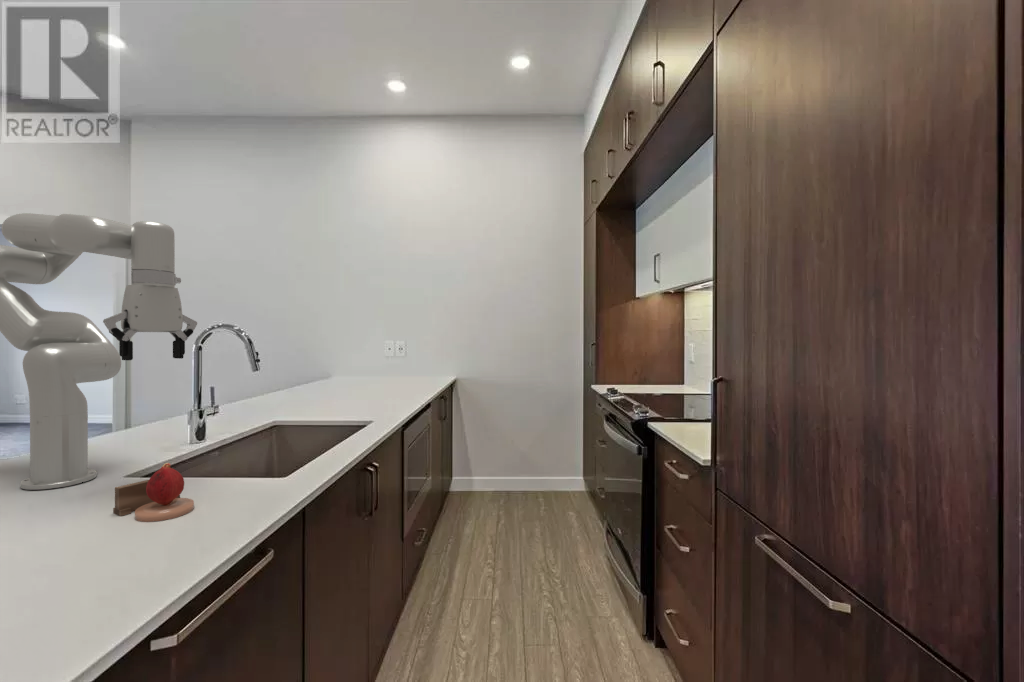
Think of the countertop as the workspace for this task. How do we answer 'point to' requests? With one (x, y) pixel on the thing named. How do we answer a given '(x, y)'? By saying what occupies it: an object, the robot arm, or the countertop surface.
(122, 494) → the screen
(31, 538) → the countertop surface
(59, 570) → the countertop surface
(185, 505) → the plate
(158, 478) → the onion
